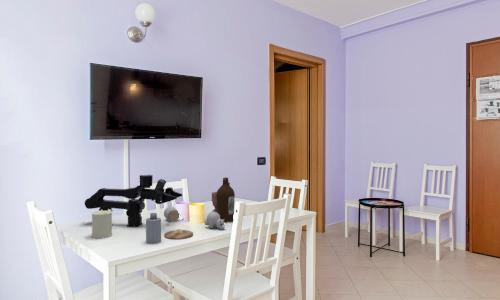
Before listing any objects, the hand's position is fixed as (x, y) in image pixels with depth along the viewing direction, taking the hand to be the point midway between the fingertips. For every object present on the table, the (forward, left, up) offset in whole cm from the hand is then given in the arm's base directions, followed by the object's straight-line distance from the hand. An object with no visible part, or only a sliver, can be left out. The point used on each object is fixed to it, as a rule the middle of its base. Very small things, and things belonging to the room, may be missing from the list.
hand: (179, 196), depth 193 cm
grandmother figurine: (-45, +10, -17) cm, 49 cm away
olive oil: (+23, +18, -17) cm, 33 cm away
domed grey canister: (-5, -26, -17) cm, 32 cm away
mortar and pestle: (+17, +38, -17) cm, 44 cm away
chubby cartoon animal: (+20, -1, -17) cm, 26 cm away
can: (-33, -19, -17) cm, 42 cm away
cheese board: (+4, -15, -18) cm, 24 cm away
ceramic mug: (-7, +16, -17) cm, 24 cm away
